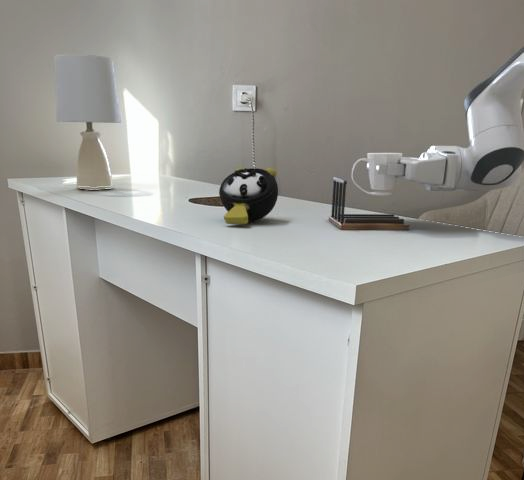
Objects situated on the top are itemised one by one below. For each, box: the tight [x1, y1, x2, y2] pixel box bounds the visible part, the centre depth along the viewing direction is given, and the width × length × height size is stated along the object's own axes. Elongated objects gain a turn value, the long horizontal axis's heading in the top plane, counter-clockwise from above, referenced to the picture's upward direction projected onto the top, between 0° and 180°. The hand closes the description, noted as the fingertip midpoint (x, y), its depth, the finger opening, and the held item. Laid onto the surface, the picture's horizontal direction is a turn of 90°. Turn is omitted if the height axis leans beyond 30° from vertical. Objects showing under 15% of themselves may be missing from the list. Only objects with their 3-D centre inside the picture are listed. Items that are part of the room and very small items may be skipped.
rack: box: [328, 176, 410, 231], centre depth 116 cm, size 14×12×9 cm
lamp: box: [53, 53, 122, 189], centre depth 169 cm, size 19×19×37 cm
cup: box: [351, 152, 403, 196], centre depth 114 cm, size 7×10×8 cm
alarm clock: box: [218, 167, 279, 225], centre depth 118 cm, size 12×15×15 cm
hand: (372, 168), depth 113 cm, fingers closed on cup, 6 cm apart
